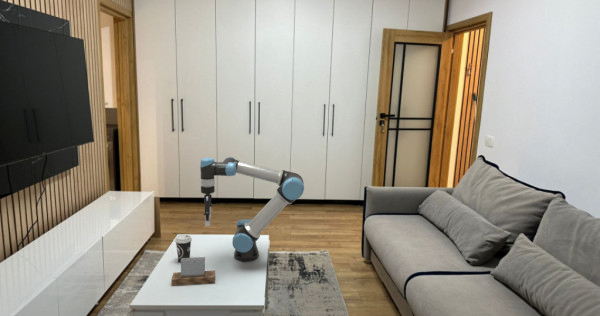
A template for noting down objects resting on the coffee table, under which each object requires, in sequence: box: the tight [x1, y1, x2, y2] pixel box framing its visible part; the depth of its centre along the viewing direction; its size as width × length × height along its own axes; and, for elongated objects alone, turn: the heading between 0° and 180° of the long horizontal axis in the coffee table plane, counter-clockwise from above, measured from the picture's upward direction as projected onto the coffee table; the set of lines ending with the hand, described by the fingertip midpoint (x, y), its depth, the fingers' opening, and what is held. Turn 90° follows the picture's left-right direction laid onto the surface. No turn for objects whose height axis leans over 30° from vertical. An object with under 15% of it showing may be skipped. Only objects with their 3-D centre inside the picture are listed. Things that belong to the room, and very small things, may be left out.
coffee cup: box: [174, 233, 193, 264], centre depth 237 cm, size 10×10×15 cm
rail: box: [170, 270, 216, 287], centre depth 214 cm, size 22×8×4 cm, turn 100°
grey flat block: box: [180, 256, 206, 277], centre depth 213 cm, size 12×4×12 cm, turn 100°
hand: (208, 221), depth 228 cm, fingers open, 13 cm apart
